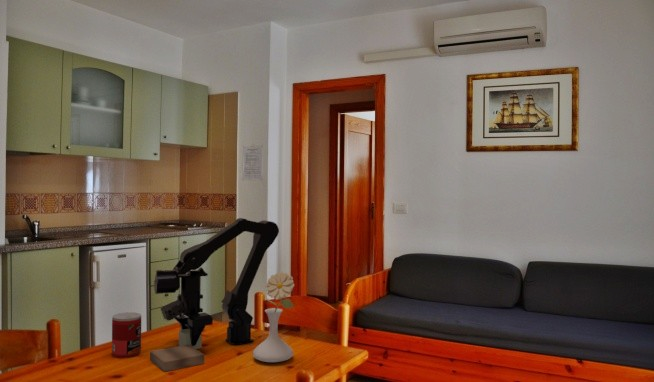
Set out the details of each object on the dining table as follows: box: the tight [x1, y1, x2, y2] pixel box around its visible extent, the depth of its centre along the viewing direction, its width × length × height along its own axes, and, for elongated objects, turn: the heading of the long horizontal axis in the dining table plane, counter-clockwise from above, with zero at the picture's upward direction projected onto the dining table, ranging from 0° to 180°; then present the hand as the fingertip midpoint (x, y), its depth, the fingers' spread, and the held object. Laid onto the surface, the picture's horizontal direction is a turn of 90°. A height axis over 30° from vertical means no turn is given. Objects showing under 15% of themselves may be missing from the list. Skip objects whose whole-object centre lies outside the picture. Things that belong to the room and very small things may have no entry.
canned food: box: [111, 311, 142, 359], centre depth 147 cm, size 8×8×11 cm
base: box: [149, 344, 205, 373], centre depth 141 cm, size 11×11×2 cm
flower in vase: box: [252, 271, 295, 363], centre depth 144 cm, size 13×11×25 cm
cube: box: [178, 329, 202, 350], centre depth 154 cm, size 5×5×5 cm
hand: (189, 343), depth 154 cm, fingers closed on cube, 5 cm apart
